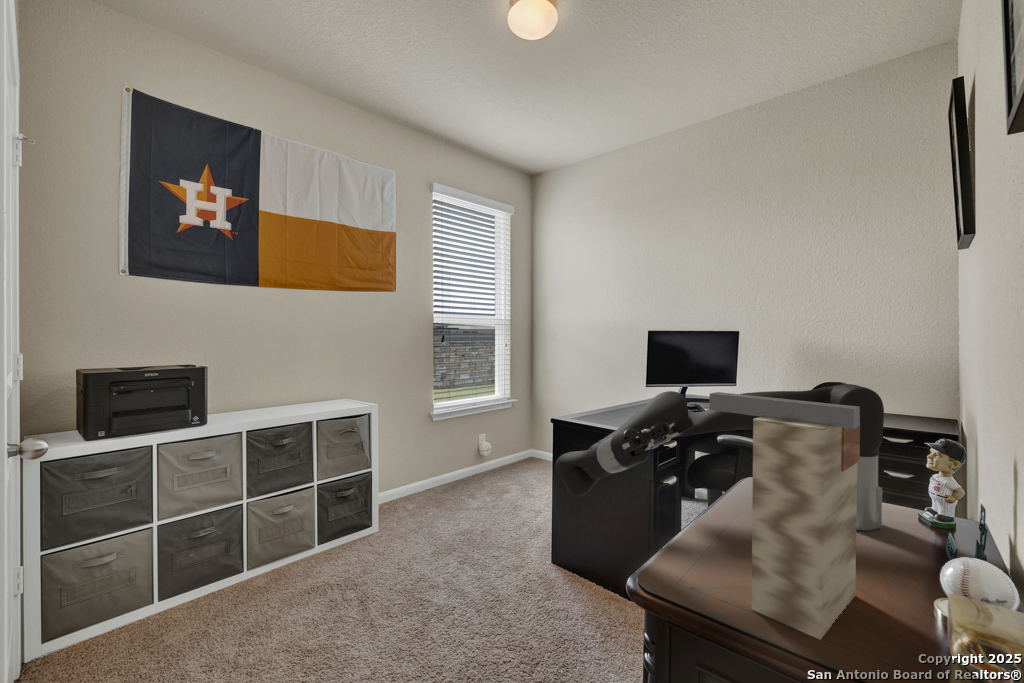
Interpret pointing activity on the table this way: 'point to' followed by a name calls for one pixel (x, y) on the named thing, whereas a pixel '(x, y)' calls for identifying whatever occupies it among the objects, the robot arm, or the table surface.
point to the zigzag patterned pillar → (804, 522)
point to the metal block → (787, 409)
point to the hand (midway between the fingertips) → (680, 424)
